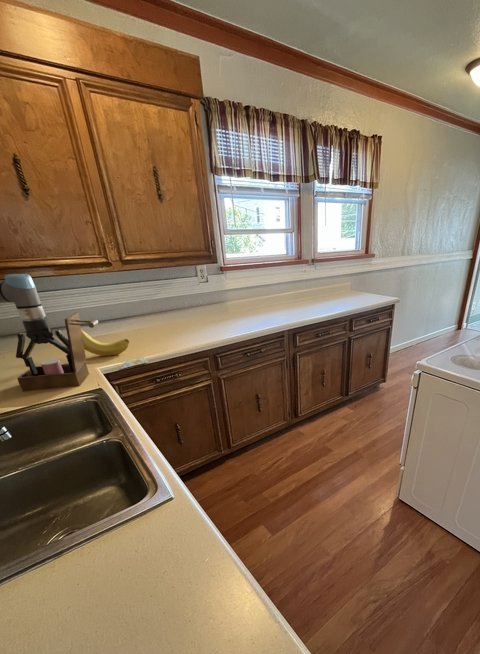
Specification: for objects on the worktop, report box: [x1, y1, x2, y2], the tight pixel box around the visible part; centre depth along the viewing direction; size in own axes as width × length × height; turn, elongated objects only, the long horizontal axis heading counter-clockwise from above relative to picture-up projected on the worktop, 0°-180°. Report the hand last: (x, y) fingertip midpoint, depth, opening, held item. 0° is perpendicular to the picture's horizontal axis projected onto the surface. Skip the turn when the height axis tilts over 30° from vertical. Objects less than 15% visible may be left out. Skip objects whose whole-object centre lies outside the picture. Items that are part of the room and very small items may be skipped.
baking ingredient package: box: [119, 357, 149, 370], centre depth 152 cm, size 9×1×15 cm
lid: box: [64, 311, 99, 372], centre depth 128 cm, size 20×13×8 cm
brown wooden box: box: [16, 361, 90, 392], centre depth 131 cm, size 20×13×6 cm, turn 105°
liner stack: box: [40, 358, 64, 375], centre depth 130 cm, size 6×6×9 cm
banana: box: [81, 329, 130, 357], centre depth 160 cm, size 23×6×20 cm, turn 111°
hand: (54, 372), depth 130 cm, fingers open, 13 cm apart
